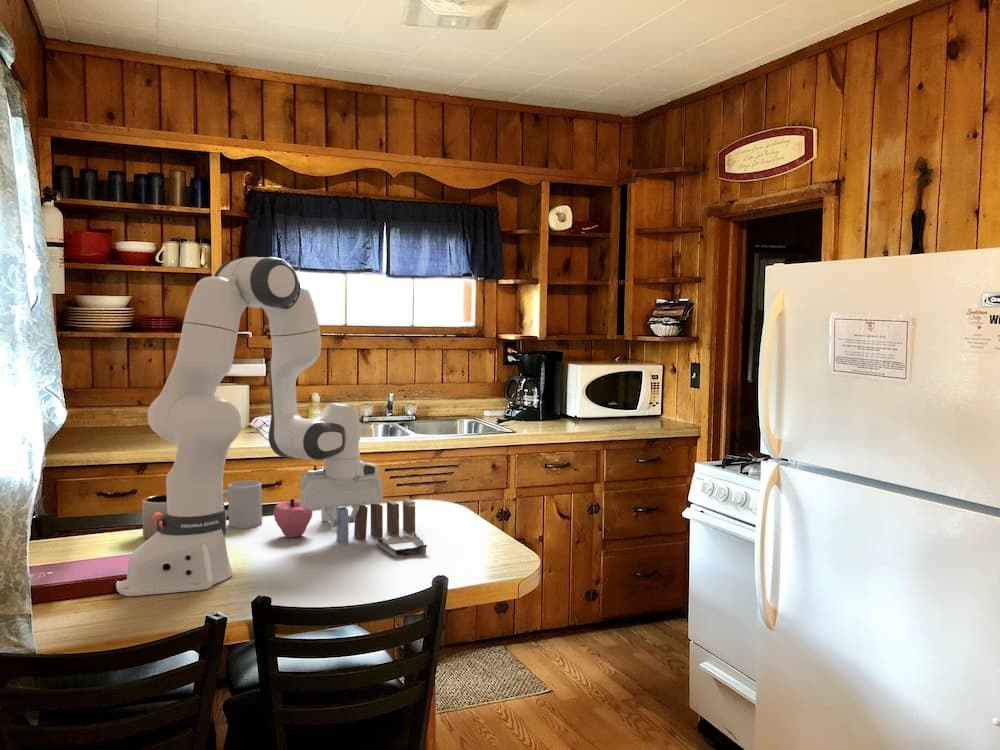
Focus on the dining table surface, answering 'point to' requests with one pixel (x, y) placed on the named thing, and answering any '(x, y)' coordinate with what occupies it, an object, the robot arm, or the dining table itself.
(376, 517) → the domino
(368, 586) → the dining table surface
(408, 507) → the domino
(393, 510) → the domino
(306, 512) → the apple
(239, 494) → the mug
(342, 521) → the domino
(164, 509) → the planter
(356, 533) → the domino
